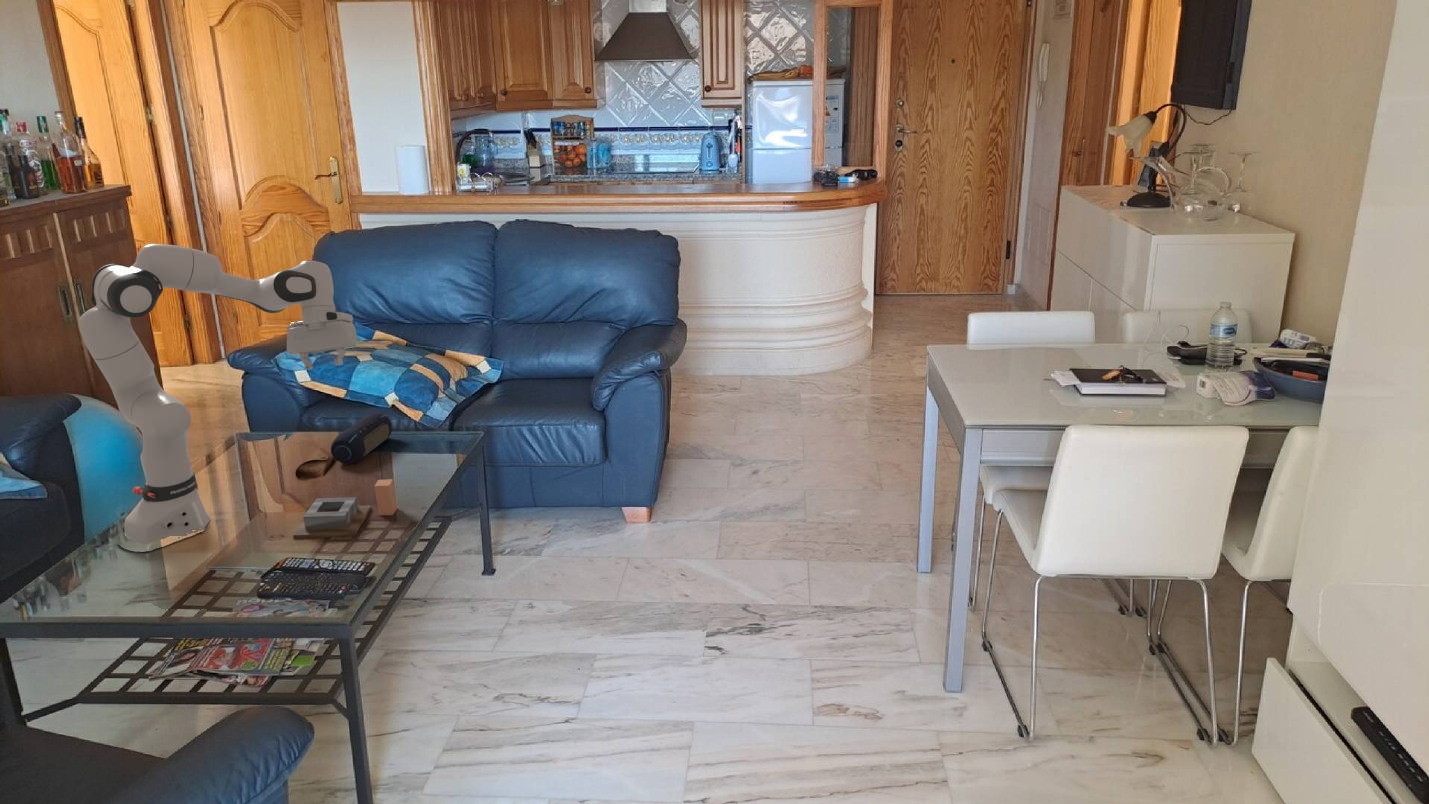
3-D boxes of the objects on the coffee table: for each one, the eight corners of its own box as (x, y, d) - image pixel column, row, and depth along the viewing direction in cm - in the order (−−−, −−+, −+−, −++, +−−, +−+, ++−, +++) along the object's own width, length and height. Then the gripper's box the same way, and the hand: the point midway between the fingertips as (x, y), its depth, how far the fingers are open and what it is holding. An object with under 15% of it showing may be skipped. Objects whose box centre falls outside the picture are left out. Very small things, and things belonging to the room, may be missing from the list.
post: (393, 514, 270) (389, 485, 267) (378, 515, 270) (374, 486, 267) (397, 508, 274) (392, 479, 271) (382, 508, 274) (378, 479, 270)
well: (354, 536, 259) (351, 519, 257) (293, 538, 258) (290, 521, 256) (371, 508, 274) (368, 492, 272) (313, 510, 273) (310, 494, 271)
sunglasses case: (324, 476, 294) (309, 459, 292) (305, 488, 295) (291, 471, 293) (342, 453, 311) (329, 436, 309) (325, 464, 312) (311, 447, 310)
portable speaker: (359, 468, 300) (354, 438, 296) (329, 466, 301) (324, 436, 298) (398, 437, 323) (394, 409, 319) (371, 435, 324) (367, 407, 321)
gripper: (279, 322, 273) (283, 370, 273) (345, 312, 270) (349, 362, 269) (293, 324, 280) (297, 372, 279) (357, 315, 276) (362, 363, 275)
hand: (323, 367), depth 274 cm, fingers open, 8 cm apart
